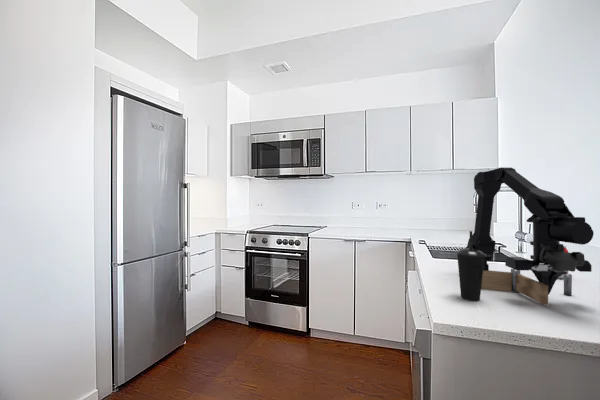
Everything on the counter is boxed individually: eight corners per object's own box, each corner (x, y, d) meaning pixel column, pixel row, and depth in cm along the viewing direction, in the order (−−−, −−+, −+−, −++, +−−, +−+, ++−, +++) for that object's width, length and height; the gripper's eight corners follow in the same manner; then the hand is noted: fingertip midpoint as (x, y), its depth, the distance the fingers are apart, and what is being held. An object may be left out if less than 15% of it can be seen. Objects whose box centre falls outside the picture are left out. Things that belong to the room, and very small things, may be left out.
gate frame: (478, 289, 94) (479, 267, 94) (475, 285, 98) (476, 265, 98) (577, 298, 86) (577, 275, 86) (569, 294, 89) (569, 271, 89)
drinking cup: (481, 295, 88) (482, 230, 88) (488, 304, 81) (489, 233, 81) (453, 292, 90) (454, 229, 90) (458, 301, 83) (459, 232, 83)
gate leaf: (516, 290, 90) (516, 274, 90) (520, 290, 90) (520, 274, 90) (543, 304, 78) (543, 285, 78) (548, 304, 78) (548, 285, 78)
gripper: (527, 243, 75) (528, 303, 75) (609, 243, 72) (610, 306, 72) (503, 237, 86) (504, 289, 86) (574, 238, 83) (575, 291, 83)
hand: (546, 294), depth 81 cm, fingers closed
